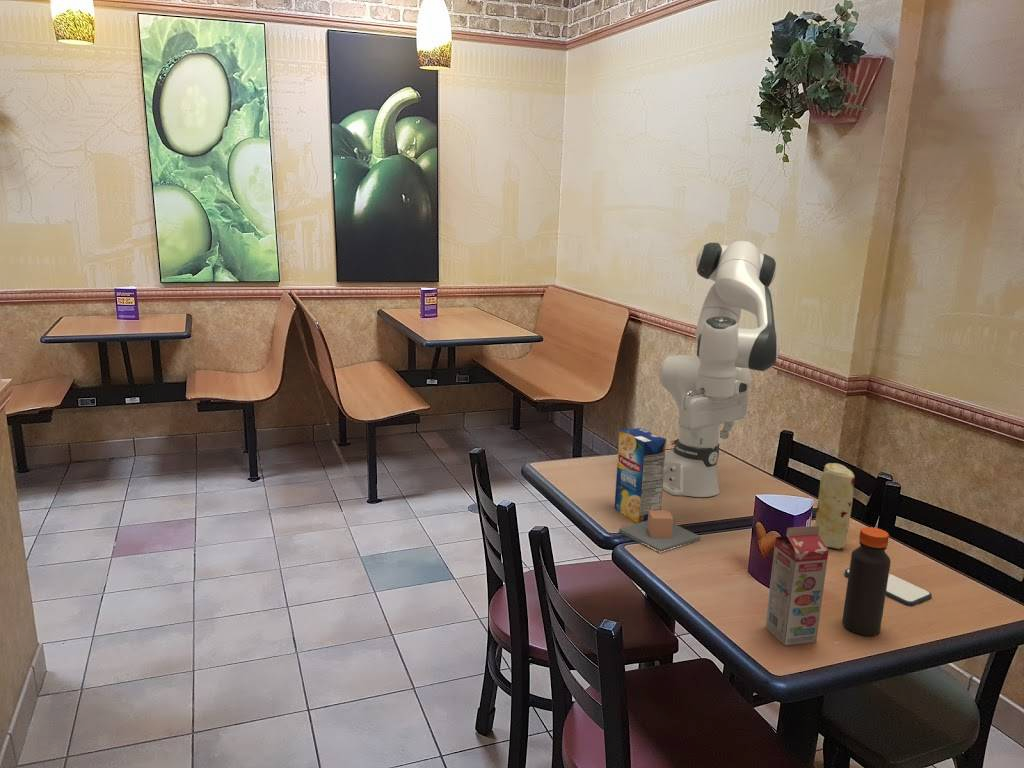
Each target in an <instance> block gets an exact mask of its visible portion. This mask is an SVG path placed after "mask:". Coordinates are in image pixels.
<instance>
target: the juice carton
mask: <svg viewBox="0 0 1024 768" xmlns="http://www.w3.org/2000/svg"><path fill="white" fill-rule="evenodd" d="M819 527H820V526H815V525H811V526H807V525H806V526H796V527H787V528H786V535H784V536H783V535H782V536H776V537H775V540H774V548H773V549H774V550H773V557H772V558H773V560H772V565H771V575H770V584H769V592H768V599H767V600H768V602H767V609H766V617H765V626H764V627H765V628H766V629H767V630H768V631H769V632H770V633H771V634H772V635H773V636H775V638H776V639H778V641H779V642H781V643H782V645H784V646H792V645H801V644H808V643H811V644H812V643H816V642H817V640H818V639H817V638H818V633H819V625H820V617H821V610H822V603H823V595H824V587H825V579H826V573H827V572H826V571H827V565H828V557H829V552H830V551H829V550H830V549H828V548H829V547H827V546H826V545H825V544H824V542H823V541H822V539H821V538H820V536H819V535H818V534H819Z"/></svg>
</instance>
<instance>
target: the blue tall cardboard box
mask: <svg viewBox="0 0 1024 768" xmlns="http://www.w3.org/2000/svg"><path fill="white" fill-rule="evenodd" d="M666 445H667V439H666V438H665V437H662V436H660V435H658V434H656V433H654V432H650V431H648V430H646V429H644V428H642V427H637V428H629V429H622V430H621V429H620V430H619V433H618V447H617V460H616V461H617V462H616V463H617V464H616V476H615V477H616V479H615V493H614V495H615V497H614V508H615V509H616V510H615V509H614V510H615V511H617V512H618V511H619V512H618V513H620V514H621V515H623V514H624V515H623V516H625V517H626V516H627V518H628V519H630V520H631V521H632V522H634V523H635V524H636V523H640V522H643V521H647V520H648V512H649V510H661V509H662V497H663V489H662V486H663V474H664V461H665V454H666V448H667V447H666Z"/></svg>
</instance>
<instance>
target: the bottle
mask: <svg viewBox="0 0 1024 768" xmlns="http://www.w3.org/2000/svg"><path fill="white" fill-rule="evenodd" d="M889 537H890V534H889V532H887V531H886V530H883V529H882V528H878V527H871V526H864V527H862V528H860V531H859V539H858V540H859V541H858V543H859V546H858V547H857V548H855V549H854V550H852V552H851V556H850V557H851V558H850V564H849V568H850V569H849V568H848V569H849V576H848V578H847V585H846V592H845V599H844V605H843V613H842V618H841V619H842V622H841V623H842V625H843V627H844V628H846V629H847V630H848V631H850V632H852V633H854V634H856V635H861V636H866V637H867V636H870V637H871V636H875V635H878V634H879V633H880V631H881V627H882V621H883V614H884V607H885V601H886V597H887V596H886V589H887V583H888V576H889V573H890V570H891V562H892V561H891V557H890V556H889V555H888V554H887V552H886V550H887V549H888V544H889Z"/></svg>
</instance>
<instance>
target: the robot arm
mask: <svg viewBox="0 0 1024 768" xmlns="http://www.w3.org/2000/svg"><path fill="white" fill-rule="evenodd" d="M695 265H696V267H695V268H696V273H697V274H698V275H699V276H700V277H701V278H703V279H706V280H710V281H714V282H715V283H714V284H712V286H711V287H710V288H709V291H708V292H707V295H706V297H705V299H704V302H703V304H702V307H701V311H700V314H699V318H698V321H697V326H696V329H695V332H694V333H695V340H696V341H697V346H696V347H697V348H696V355H691V354H675V355H668V356H666V357H665V358H664V359H663V361H662V362H661V364H660V365H659V369H658V378H659V379H658V380H659V381H660V384H661V386H662V387H663V388H664V389H665V390H666V391H667V392H668V393H669V394H670V395H671V396H672V398H673V400H674V403H675V405H676V406H677V410H678V414H679V416H678V425H679V428H678V429H679V433H678V438H677V439H675V440H671V441H670V442H671V443H670V445H671V446H672V445H674V447H673V449H672V450H671V451H669V452H667V453H665V461H664V474H663V486H662V490H663V489H664V490H663V491H665V492H666V493H668V492H669V493H668V494H670V495H672V496H686V497H687V496H688V497H693V498H709V497H712V496H713V497H714V496H716V495H718V494H719V493H720V486H719V479H718V478H719V477H718V460H719V455H720V444H719V438H720V439H723V440H727V439H729V438H730V434H731V433H730V432H732V429H733V427H734V425H735V421H739V420H743V419H745V417H746V416H747V412H748V407H749V406H748V403H749V394H748V392H749V391H750V389H751V387H752V382H753V380H752V379H753V378H752V374H751V371H750V370H752V371H753V370H754V371H759V372H765V371H767V370H769V369H770V368H772V367H773V366H774V365H775V364H777V361H778V358H779V353H780V345H779V340H778V337H777V332H776V326H775V315H774V306H773V299H772V293H771V290H770V288H769V287H770V286H771V284H772V283H773V282H774V280H775V278H776V274H777V267H776V265H777V262H776V260H775V258H773V257H772V256H770V255H768V254H765V253H763V254H762V253H760V250H759V249H758V247H757V246H756V245H755V244H754V243H752V242H751V241H747V240H737V241H734V242H732V243H731V244H729V245H728V244H722V243H721V244H720V243H719V242H708V243H706V244H704V245H703V247H702V248H701V249H700V250H699V252H698V254H697V256H696V260H695ZM742 310H743V311H747V312H750V313H751V314H752V315H754V316H755V317H756V321H757V322H756V323H757V327H755V328H744V327H739V322H740V318H741V313H742ZM721 424H723V427H722V430H720V427H721Z"/></svg>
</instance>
